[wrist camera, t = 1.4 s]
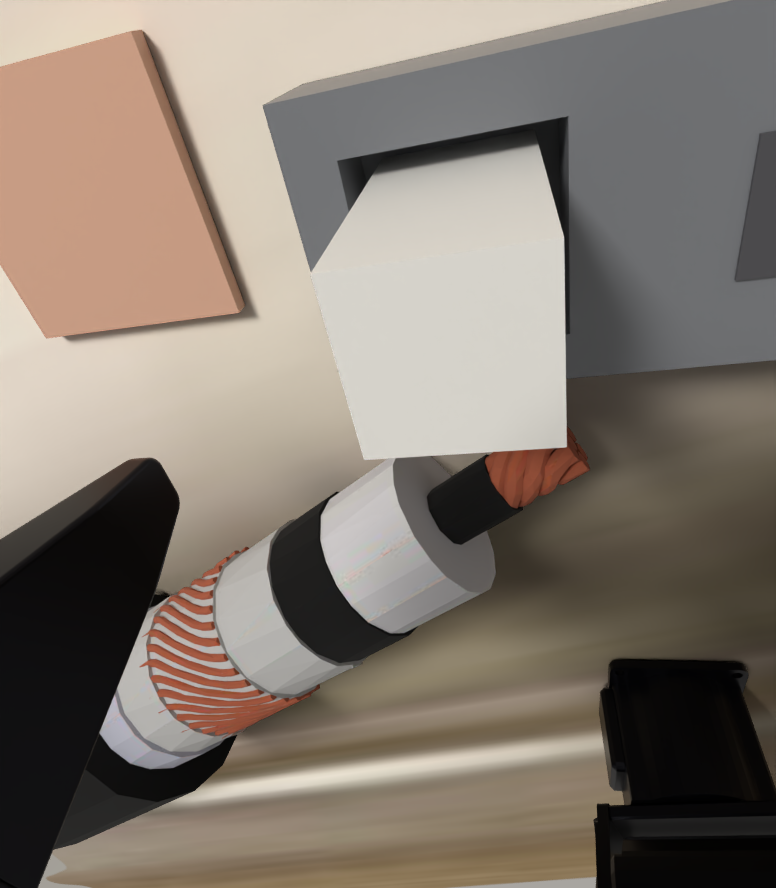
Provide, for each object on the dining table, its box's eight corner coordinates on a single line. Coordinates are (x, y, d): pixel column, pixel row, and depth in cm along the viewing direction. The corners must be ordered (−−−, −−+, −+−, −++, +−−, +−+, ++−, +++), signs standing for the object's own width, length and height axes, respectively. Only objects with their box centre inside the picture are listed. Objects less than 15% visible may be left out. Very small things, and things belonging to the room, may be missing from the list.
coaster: (141, 29, 15) (130, 31, 15) (245, 305, 20) (239, 312, 20) (-90, 92, 17) (-106, 95, 17) (55, 330, 22) (46, 338, 21)
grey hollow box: (1283, -142, 11) (1606, -192, 8) (1067, 264, 16) (1212, 336, 12) (302, 83, 16) (253, 109, 12) (366, 343, 20) (343, 409, 17)
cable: (567, 385, 25) (691, 601, 20) (143, 661, 40) (145, 831, 34) (441, 266, 18) (579, 554, 13) (-23, 657, 33) (-55, 872, 27)
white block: (534, 129, 15) (564, 236, 8) (539, 278, 17) (566, 447, 11) (382, 158, 15) (309, 274, 9) (408, 295, 18) (364, 460, 12)
